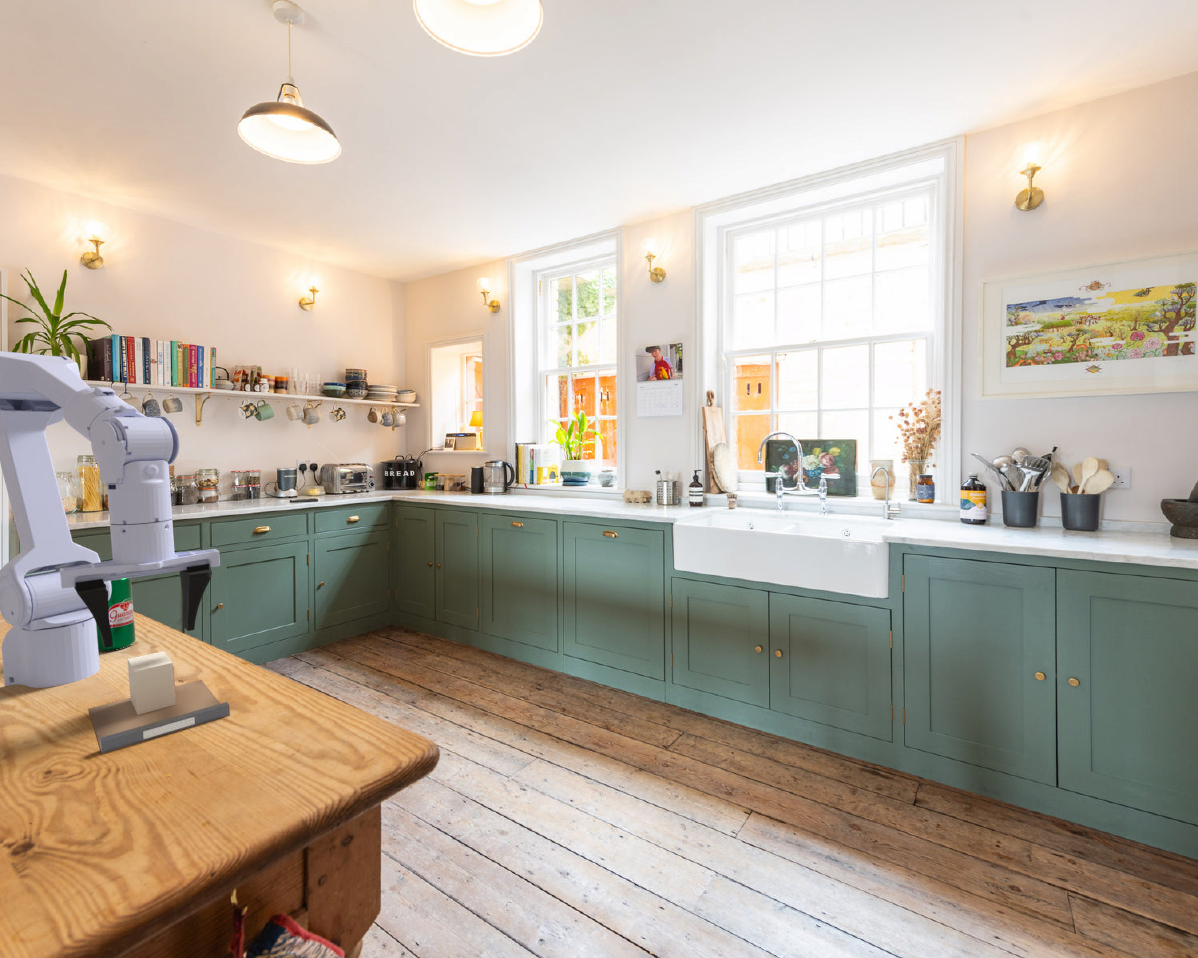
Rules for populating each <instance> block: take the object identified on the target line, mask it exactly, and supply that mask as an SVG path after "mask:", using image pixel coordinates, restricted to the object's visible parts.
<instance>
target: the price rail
mask: <svg viewBox="0 0 1198 958" xmlns="http://www.w3.org/2000/svg"><path fill="white" fill-rule="evenodd" d="M220 703H221V704H218V705H214V706H211V707H207V708H204V709H200V710H197V711H193V712H190V713H186V714H182V715H179V716H175V717H172V718H168V719H165V720H161V721H158V722H154V723H151V724H147V725H144V726H140V727H137V728H133V729H130V730H126V731H123V732H119V733H116V734H112V735H109V736H105V737H102V738H100V746H101V749H100V751H101V754H102V753H103V754H106V753H109V752H108V751H110V752H112V751H111V750H113V751H116V750H118V748H120V749H122V748H121V747H123V748H126V747H129V746H128V745H130V746H132V745H131V744H133V745H136V744H139V743H138V742H140V743H142V742H141V741H143V742H146V741H149V740H148V739H150V740H152V739H151V738H153V739H156V738H159V737H158V736H160V737H162V736H161V735H163V736H165V734H166V735H169V734H168V733H170V734H173V733H175V731H176V732H179V731H178V730H180V731H183V730H186V729H189V728H188V727H190V728H193V727H196V726H199V725H198V724H200V725H203V724H206V723H209V722H208V721H210V722H213V721H216V720H219V719H218V718H220V719H223V718H226V717H229V716H228V715H230V716H231V713H230V712H231V711H230V709H231V708H230V703H229V702H228V701H225V702H220ZM225 716H226V717H225ZM222 717H223V718H222ZM215 719H216V720H215ZM212 720H213V721H212ZM205 722H206V723H205ZM202 723H203V724H202ZM195 725H196V726H195ZM192 726H193V727H192ZM185 728H186V729H185ZM182 729H183V730H182ZM172 732H173V733H172ZM155 737H156V738H155ZM145 740H146V741H145ZM135 743H136V744H135ZM100 746H99V747H100ZM125 746H126V747H125ZM115 749H116V750H115ZM105 752H106V753H105Z"/></svg>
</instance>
